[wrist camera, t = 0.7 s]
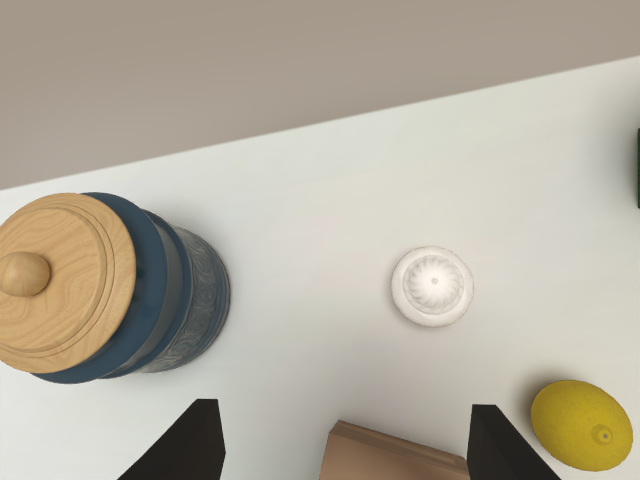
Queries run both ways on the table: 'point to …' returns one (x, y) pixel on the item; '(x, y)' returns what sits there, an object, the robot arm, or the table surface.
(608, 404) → the lemon
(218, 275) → the canister
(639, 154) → the milk carton
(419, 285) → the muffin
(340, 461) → the cabinet
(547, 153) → the table surface
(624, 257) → the table surface
